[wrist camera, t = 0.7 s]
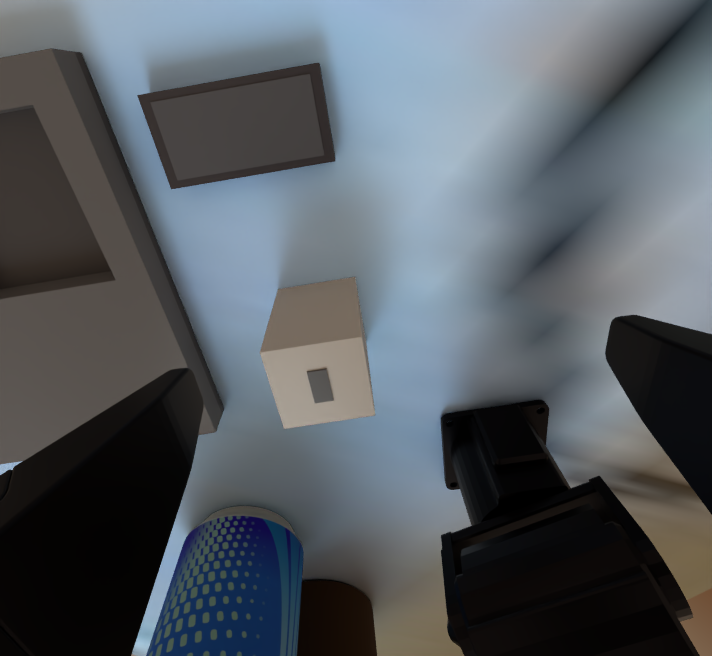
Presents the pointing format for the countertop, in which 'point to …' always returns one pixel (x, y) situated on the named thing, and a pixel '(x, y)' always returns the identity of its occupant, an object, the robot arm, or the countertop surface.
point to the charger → (318, 354)
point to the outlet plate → (76, 264)
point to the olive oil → (335, 621)
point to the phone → (241, 126)
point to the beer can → (234, 589)
